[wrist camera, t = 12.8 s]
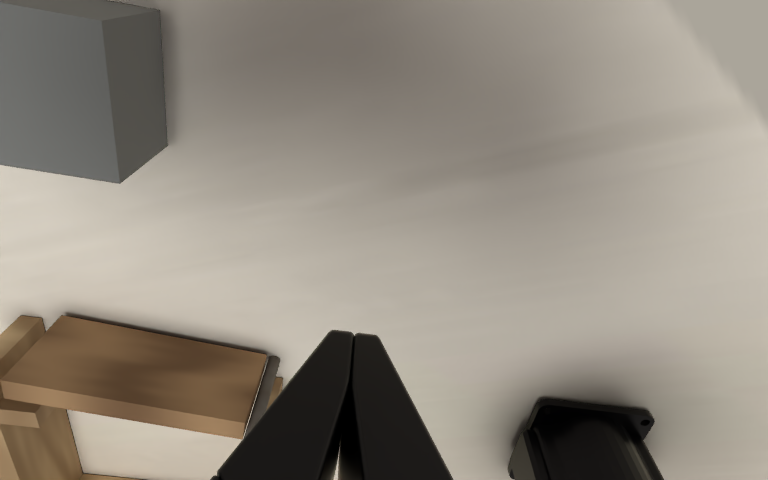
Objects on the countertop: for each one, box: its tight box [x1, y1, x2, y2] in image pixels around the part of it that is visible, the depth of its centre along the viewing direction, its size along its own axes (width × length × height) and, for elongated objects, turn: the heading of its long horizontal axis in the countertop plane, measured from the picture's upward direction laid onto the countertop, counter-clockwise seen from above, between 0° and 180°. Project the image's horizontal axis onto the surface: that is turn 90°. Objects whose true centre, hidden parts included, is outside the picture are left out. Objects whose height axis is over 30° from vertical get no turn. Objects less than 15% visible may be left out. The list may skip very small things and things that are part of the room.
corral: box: [0, 316, 283, 480], centre depth 25 cm, size 13×14×5 cm
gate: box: [0, 315, 267, 439], centre depth 22 cm, size 10×1×4 cm, turn 76°
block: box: [0, 0, 168, 184], centre depth 16 cm, size 5×5×4 cm
